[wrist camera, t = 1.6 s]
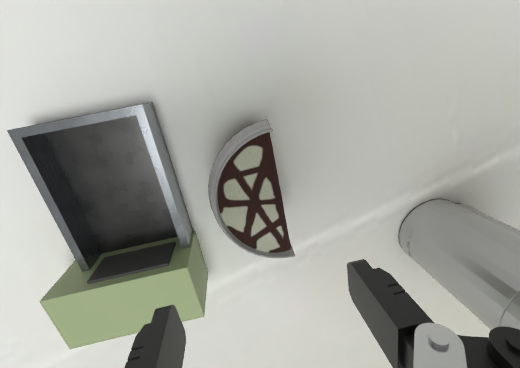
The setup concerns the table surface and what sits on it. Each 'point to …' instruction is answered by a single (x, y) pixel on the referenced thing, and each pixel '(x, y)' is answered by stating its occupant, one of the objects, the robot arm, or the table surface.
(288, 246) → the food container
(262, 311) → the table surface
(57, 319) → the pale green rectangular block
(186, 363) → the table surface
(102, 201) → the gray open tray
